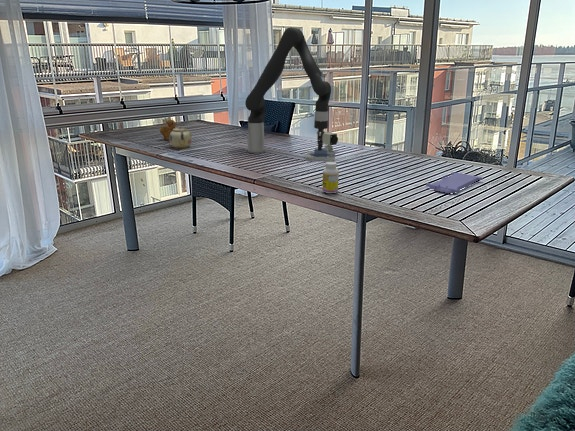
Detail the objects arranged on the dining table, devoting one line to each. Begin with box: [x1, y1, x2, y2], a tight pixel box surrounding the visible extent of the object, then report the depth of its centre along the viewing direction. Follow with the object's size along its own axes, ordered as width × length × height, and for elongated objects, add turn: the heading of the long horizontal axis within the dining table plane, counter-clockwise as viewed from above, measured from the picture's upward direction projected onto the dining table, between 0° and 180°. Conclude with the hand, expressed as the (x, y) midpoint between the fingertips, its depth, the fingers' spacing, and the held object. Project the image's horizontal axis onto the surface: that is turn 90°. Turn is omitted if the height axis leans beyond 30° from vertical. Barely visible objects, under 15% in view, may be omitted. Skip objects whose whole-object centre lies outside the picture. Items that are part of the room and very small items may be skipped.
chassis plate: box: [304, 150, 336, 162], centre depth 262 cm, size 16×15×2 cm
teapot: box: [169, 125, 193, 150], centre depth 286 cm, size 20×14×13 cm
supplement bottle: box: [321, 161, 340, 194], centre depth 197 cm, size 7×7×13 cm
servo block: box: [311, 147, 331, 156], centre depth 261 cm, size 11×4×5 cm, turn 83°
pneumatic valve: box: [322, 130, 339, 152], centre depth 277 cm, size 6×12×12 cm, turn 36°
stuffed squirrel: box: [158, 119, 179, 142], centre depth 310 cm, size 10×14×13 cm
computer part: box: [425, 172, 484, 194], centre depth 209 cm, size 30×4×15 cm
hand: (320, 148), depth 260 cm, fingers open, 8 cm apart
